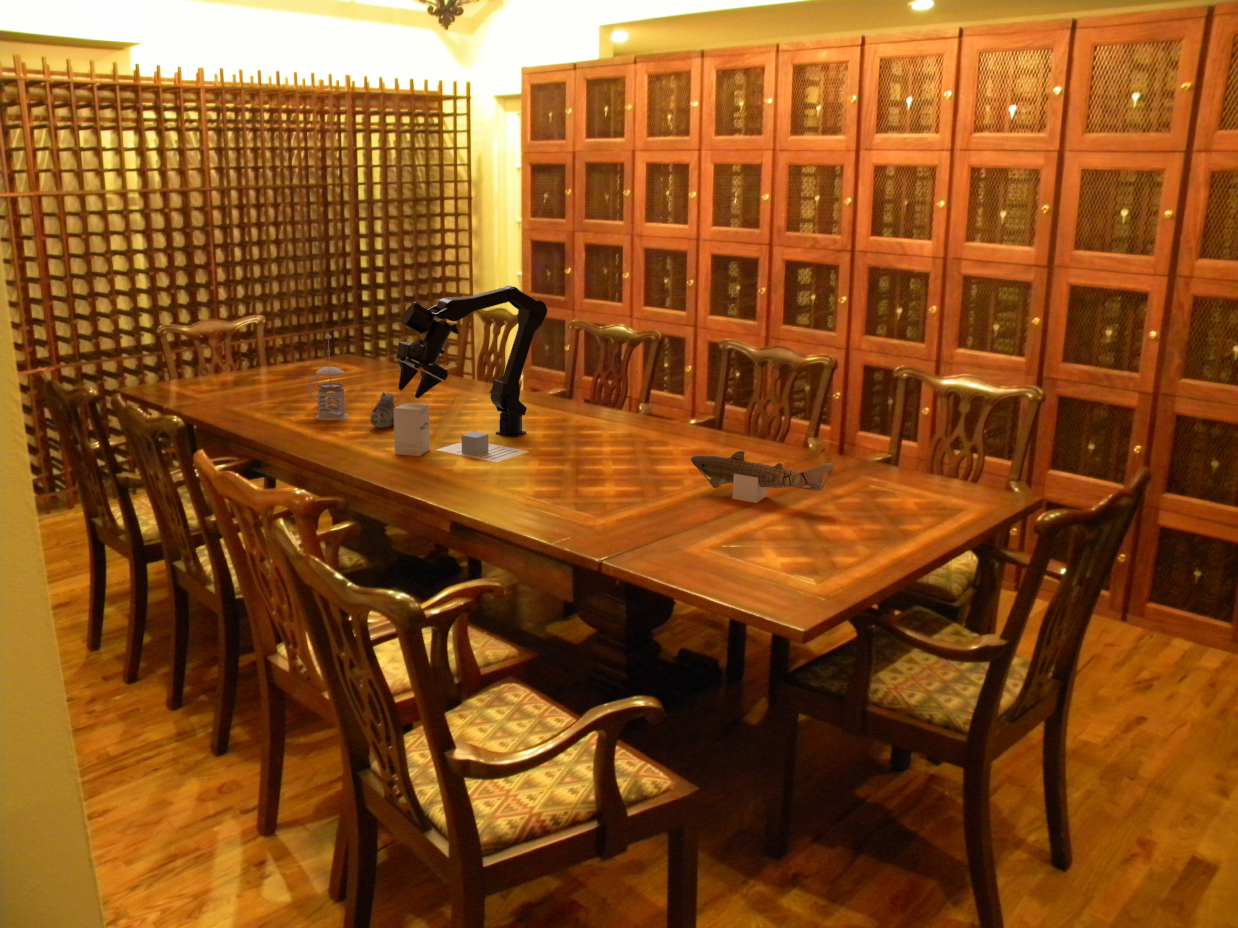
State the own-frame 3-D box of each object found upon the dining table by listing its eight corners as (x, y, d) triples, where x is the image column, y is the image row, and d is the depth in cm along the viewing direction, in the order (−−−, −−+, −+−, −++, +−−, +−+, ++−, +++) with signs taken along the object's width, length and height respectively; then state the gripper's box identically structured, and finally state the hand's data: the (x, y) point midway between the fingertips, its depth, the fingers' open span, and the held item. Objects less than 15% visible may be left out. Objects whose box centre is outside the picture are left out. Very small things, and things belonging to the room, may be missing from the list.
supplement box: (420, 456, 279) (419, 409, 276) (393, 454, 281) (392, 407, 277) (430, 450, 286) (429, 404, 283) (404, 448, 288) (403, 402, 284)
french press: (343, 420, 317) (340, 337, 310) (305, 419, 317) (300, 336, 311) (352, 413, 326) (349, 332, 320) (314, 412, 327) (310, 331, 320)
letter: (469, 440, 297) (469, 439, 297) (529, 452, 286) (529, 451, 286) (435, 450, 286) (435, 449, 286) (496, 463, 275) (496, 462, 275)
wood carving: (823, 516, 237) (827, 468, 234) (682, 491, 254) (684, 446, 251) (836, 506, 245) (840, 459, 242) (698, 482, 261) (700, 438, 258)
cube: (474, 449, 287) (473, 431, 286) (488, 452, 284) (488, 434, 283) (461, 453, 283) (461, 435, 281) (476, 456, 280) (476, 437, 279)
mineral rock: (377, 433, 304) (376, 398, 301) (352, 427, 310) (351, 393, 307) (411, 425, 314) (410, 391, 311) (385, 419, 320) (384, 387, 317)
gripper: (393, 322, 287) (368, 374, 287) (428, 335, 274) (401, 390, 273) (425, 339, 295) (400, 390, 294) (460, 353, 281) (434, 406, 281)
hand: (408, 393), depth 286 cm, fingers open, 9 cm apart
